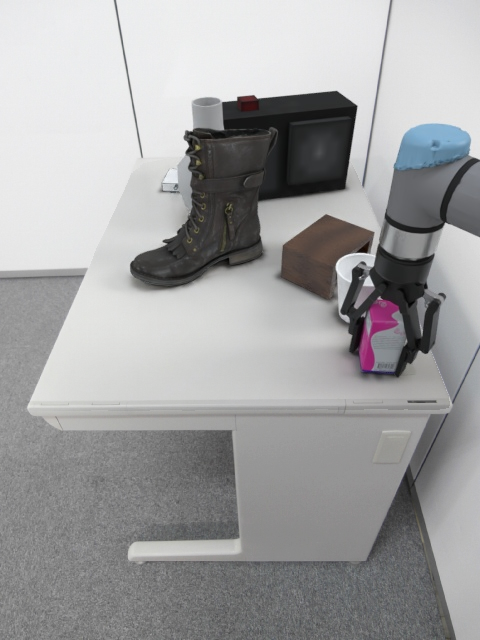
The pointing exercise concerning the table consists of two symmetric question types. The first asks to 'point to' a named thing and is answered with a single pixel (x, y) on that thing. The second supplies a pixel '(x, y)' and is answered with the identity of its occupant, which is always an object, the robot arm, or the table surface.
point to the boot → (214, 207)
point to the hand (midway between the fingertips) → (376, 359)
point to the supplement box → (381, 338)
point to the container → (170, 181)
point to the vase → (204, 116)
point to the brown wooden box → (322, 253)
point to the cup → (345, 279)
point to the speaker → (299, 139)
